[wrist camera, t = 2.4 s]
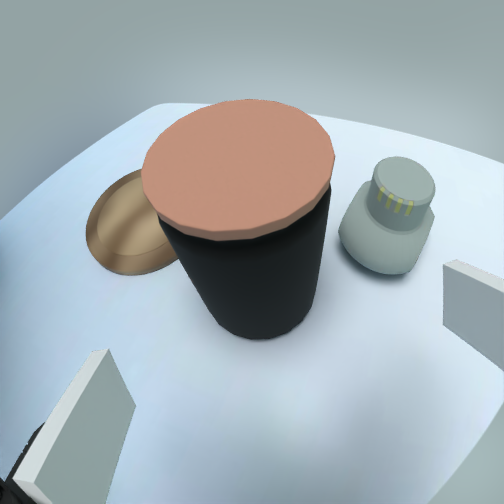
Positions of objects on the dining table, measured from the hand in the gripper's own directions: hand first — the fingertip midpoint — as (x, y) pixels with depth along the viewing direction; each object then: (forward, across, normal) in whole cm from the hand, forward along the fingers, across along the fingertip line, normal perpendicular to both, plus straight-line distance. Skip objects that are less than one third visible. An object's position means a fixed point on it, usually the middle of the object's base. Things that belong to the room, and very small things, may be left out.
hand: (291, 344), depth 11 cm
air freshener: (+22, +14, -4) cm, 27 cm away
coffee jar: (+20, 0, -5) cm, 21 cm away
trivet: (+30, -12, +4) cm, 32 cm away
